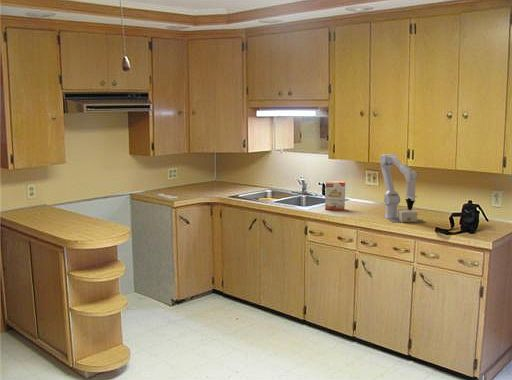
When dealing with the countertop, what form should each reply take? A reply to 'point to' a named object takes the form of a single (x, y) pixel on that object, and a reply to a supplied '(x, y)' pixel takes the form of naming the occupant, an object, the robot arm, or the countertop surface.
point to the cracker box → (335, 195)
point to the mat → (400, 221)
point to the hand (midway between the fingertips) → (409, 209)
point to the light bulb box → (407, 215)
